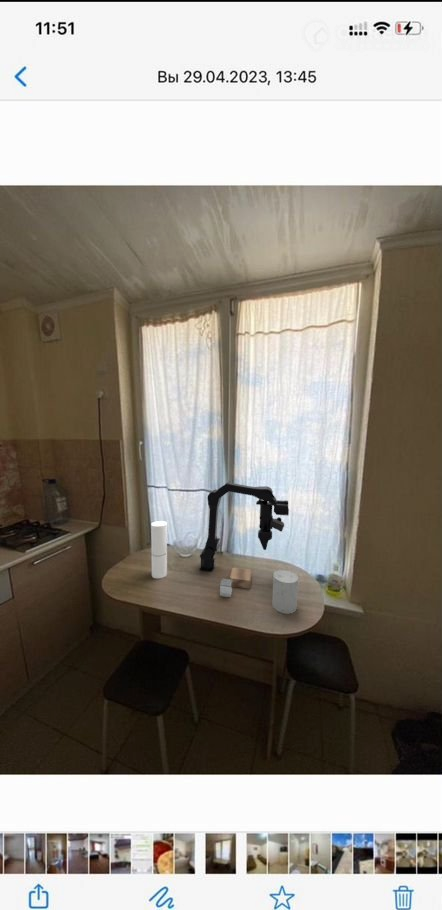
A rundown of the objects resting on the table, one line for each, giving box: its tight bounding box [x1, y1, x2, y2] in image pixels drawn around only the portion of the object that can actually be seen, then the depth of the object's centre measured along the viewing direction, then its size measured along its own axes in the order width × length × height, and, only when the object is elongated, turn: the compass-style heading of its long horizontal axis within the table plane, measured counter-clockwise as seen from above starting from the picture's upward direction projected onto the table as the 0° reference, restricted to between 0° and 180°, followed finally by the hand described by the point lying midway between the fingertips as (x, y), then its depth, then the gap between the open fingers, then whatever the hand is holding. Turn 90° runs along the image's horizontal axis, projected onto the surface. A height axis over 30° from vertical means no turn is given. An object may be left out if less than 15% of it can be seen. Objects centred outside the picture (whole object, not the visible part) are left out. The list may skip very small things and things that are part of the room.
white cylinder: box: [271, 568, 299, 615], centre depth 99 cm, size 10×10×12 cm
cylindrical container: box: [150, 520, 168, 579], centre depth 118 cm, size 7×7×25 cm
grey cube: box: [219, 578, 233, 598], centre depth 106 cm, size 5×5×5 cm
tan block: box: [229, 567, 253, 590], centre depth 114 cm, size 9×9×4 cm
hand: (265, 545), depth 119 cm, fingers open, 9 cm apart
